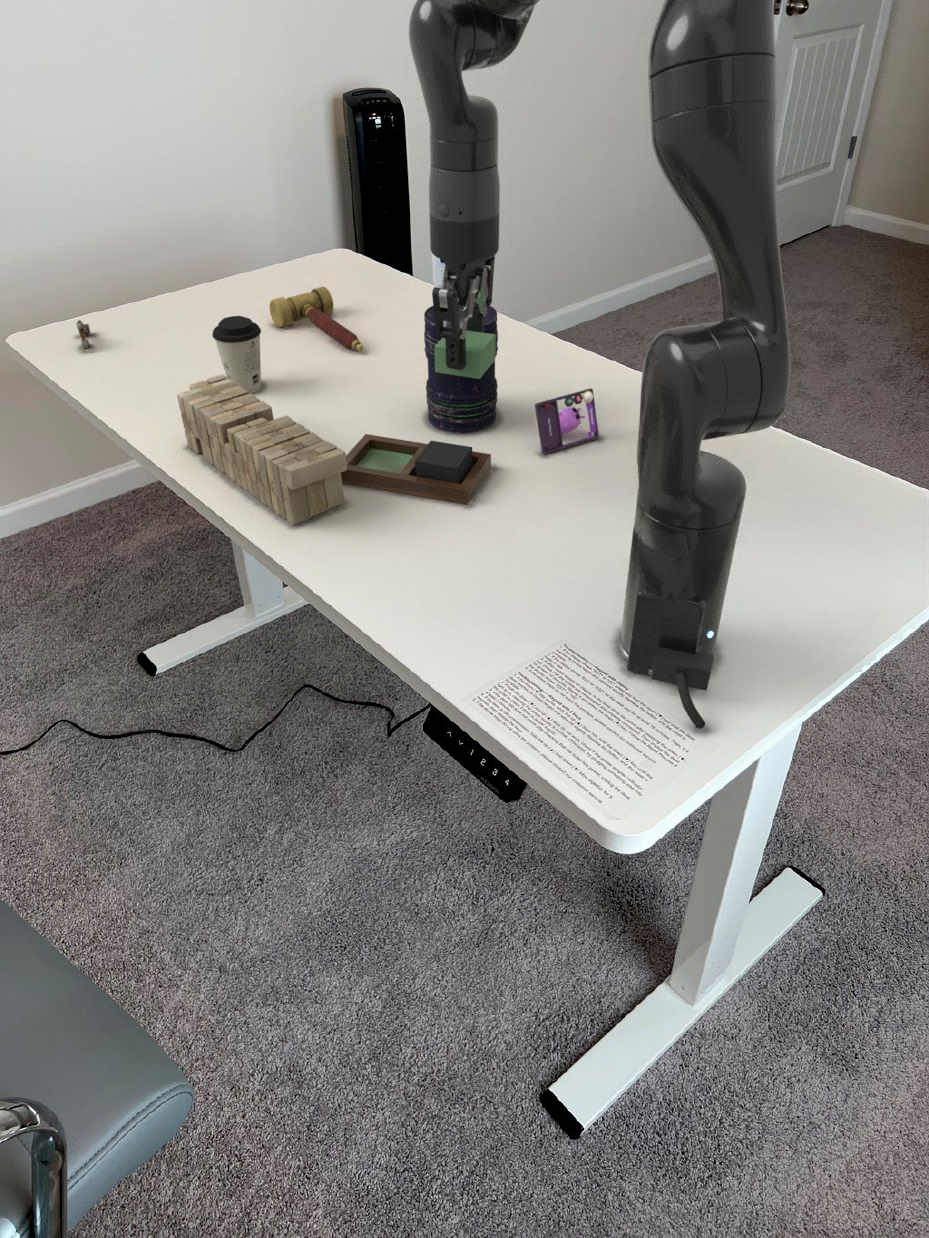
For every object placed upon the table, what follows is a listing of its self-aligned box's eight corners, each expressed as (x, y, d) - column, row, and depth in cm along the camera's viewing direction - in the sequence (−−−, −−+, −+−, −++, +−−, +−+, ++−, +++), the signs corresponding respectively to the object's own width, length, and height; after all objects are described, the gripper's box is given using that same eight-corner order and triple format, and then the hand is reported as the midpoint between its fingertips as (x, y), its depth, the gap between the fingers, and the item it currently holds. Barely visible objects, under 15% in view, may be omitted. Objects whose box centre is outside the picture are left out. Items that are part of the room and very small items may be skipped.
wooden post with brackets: (79, 350, 153) (72, 320, 152) (83, 352, 161) (76, 323, 159) (91, 348, 154) (84, 319, 152) (94, 350, 161) (88, 322, 160)
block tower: (183, 448, 131) (297, 532, 113) (170, 390, 126) (287, 468, 108) (234, 430, 135) (352, 508, 117) (223, 373, 130) (345, 446, 112)
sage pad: (479, 379, 111) (479, 353, 109) (434, 372, 113) (434, 346, 111) (495, 359, 115) (495, 334, 113) (452, 353, 117) (451, 328, 115)
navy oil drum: (484, 397, 141) (484, 296, 131) (507, 427, 133) (509, 322, 124) (418, 407, 138) (414, 305, 129) (438, 438, 131) (435, 332, 122)
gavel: (387, 327, 153) (333, 343, 148) (388, 354, 156) (335, 370, 151) (319, 282, 165) (267, 295, 160) (321, 308, 168) (270, 321, 163)
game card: (538, 404, 124) (596, 388, 127) (518, 402, 128) (573, 386, 132) (546, 455, 126) (602, 438, 130) (526, 451, 131) (580, 435, 134)
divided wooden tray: (467, 505, 118) (467, 490, 116) (336, 482, 122) (335, 467, 121) (491, 468, 124) (491, 454, 123) (366, 447, 129) (365, 433, 128)
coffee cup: (273, 393, 142) (264, 327, 136) (226, 401, 140) (215, 335, 134) (263, 374, 147) (254, 310, 141) (218, 382, 145) (206, 318, 139)
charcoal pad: (457, 490, 119) (457, 468, 117) (415, 483, 121) (414, 461, 119) (472, 469, 123) (472, 446, 121) (431, 462, 125) (430, 440, 123)
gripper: (474, 232, 96) (474, 387, 107) (518, 192, 107) (514, 338, 118) (405, 224, 99) (412, 378, 109) (455, 186, 109) (457, 330, 120)
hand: (465, 356), depth 113 cm, fingers closed on sage pad, 5 cm apart
